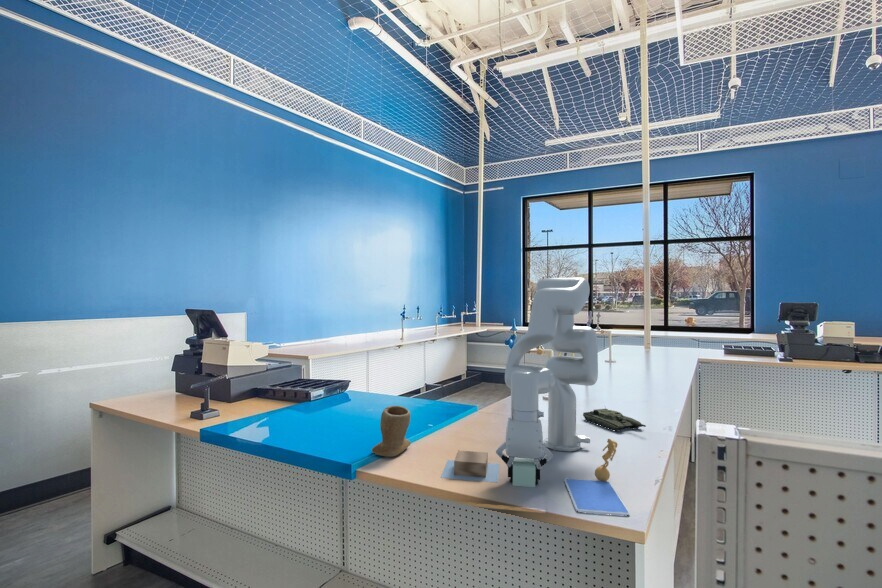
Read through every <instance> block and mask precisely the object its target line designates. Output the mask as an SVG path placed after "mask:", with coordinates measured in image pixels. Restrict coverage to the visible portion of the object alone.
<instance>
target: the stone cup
mask: <svg viewBox="0 0 882 588" xmlns="http://www.w3.org/2000/svg"><path fill="white" fill-rule="evenodd" d="M380 416H381V417H380V427H379V428H380V432H381V440H382V441H380V442H378V443H377V444H375V446H373V447H372V448H371V452H372V453H373V454H374V453H375V455H377V456H381V457H389V458H390V457H396V456H398V455H400V454H401V453H403V452H404V451H405V450H406V449H408V447H409V446H411V444H412V442H411V441H410V439H407V437H406V435H407V432H408V429H409V427H410V423H411V411H410V410H409V409H408V408H406V406H405V407H404V406H401V405H389V406H387V407H385V408H384V409H383V410H382V412H381V415H380Z"/></svg>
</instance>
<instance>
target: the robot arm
mask: <svg viewBox="0 0 882 588" xmlns="http://www.w3.org/2000/svg"><path fill="white" fill-rule="evenodd" d="M590 290H591V289H590V283H589V281H588V280H587V279H586V278H584V277H546V278H542V279H540V280H538V281H537V283H536V292H535V293H534V295H533V299H532V304H531V310H530V316H529V322H528V326H527V332H526V333H525V334H523V335H522V336H521V337H520V338H519V339H518V340H516V342H515V343H514V345H513V346H512V347H511V349H510V351H509V353H508V356H507V360H506V365H505V371H504V382H505V385H506V387H507V388H509V389H510V417H508V418H507V422H506V430H505V441H504V442H502V444H501V445H499V446H498V447H497V448H496V450H495V454H496V455H497V456H498V457H499V458H500V459H501V460H502V461H503V462H504V464H506V466H507V478H510V483H513V460H514V458H518V459H531V460H534V461H535V467H536V476H535V485H538V482H539V481H540V480H541V469H542V467H543V466H544V465H546V464H547V463H548V462H549V461H550V460H552V458H553V457H554V455H553V453H552V452H551V451H550V450H554V451H559V452H575V451H578V450H580V449H581V443H582V444H583V443H584V444H591V438H590V437H587V436H585V435H579V434H577V395H576V393H575V390H574V389H573V388H572V386H571V385H575V386H576V385H577V386H585V387H586V386H593V385H594V386H595V384H596V383H597V381H598V378H599V363H598V362H599V358H598V355H599V354H598V349H599V348H598V338H597V333H596V331H595V329H593V328H592V327H591V326H585V325H584V326H581V325H575V315H578V314H579V313H580V312H581V311H582V310H583V308H584V305H585V304H586V303H587V302H588V299H589V296H590V293H591V292H590ZM548 343H549V345H550V349H552V351H554V352H557V353H561V354H562V353H563V354H577V355H579V354H580V355H581V356H572V355H570V356H569V355H554V356H553V355H552V356H551V357H549V358H548V359H547V360H546V363H545V367H543V366H542V367H541V366H534V365H523V364H522V365H521V364H520V362H521V360H522V358H523V357H524V356H525V354H527V353H528V352H529V351H531V350H533V349H535V348H538V347H540V346H543V345H545V344H548ZM544 394H548V395H547V396H548V397H547V400H548V401H547V402H548V404H547V405H548V407H547V438H545V439H544V437H543V425H542V421H541V419H540V418H544V417H545V413H544V411H540V410H539V395H544ZM504 451H505V453H504ZM544 454H545V455H544ZM543 455H544V456H543Z"/></svg>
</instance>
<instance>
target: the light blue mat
mask: <svg viewBox="0 0 882 588" xmlns="http://www.w3.org/2000/svg"><path fill="white" fill-rule="evenodd" d="M454 460H455V459H453V460H452V459H447V461H446V464H445V466H444V468H443V471H442V473H441V476H440V478H441V479H452V480H464V481H474V482H475V481H476V482H487V483H488V482H489V483H496V484H497V483H499V475H500V463H494V462H493V463H492V462H488V467H487V473H486V478H483V477H471V476H458V475H454Z"/></svg>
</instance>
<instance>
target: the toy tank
mask: <svg viewBox="0 0 882 588" xmlns="http://www.w3.org/2000/svg"><path fill="white" fill-rule="evenodd" d="M582 416H583V418H584V419H585V421H586V420H587V421H586V422H588V421H590V422H592V423H591V424H593V423H595V424H594V425H596V424H598V425H597V426H599V425H601V426H603V427H602V428H604V427H606V428H605V429H607V428H609V429H612V430H615V431H614V432H618V431H617V430H620V431H621V430H625V429H631V428H637V429H638V428H642V427H644V428H645V427H647V425H645V424H643V423H641V422H640V421H639V420H636V419H635V418H633V417H629V416H626V415H623V413H622V412H620V411H617V410H612V409H608V408H606V406H604V408H598V409H593V410H590V411H588V412H587V411H586V412H583V413H582ZM590 422H589V423H590ZM601 426H600V427H601ZM609 429H608V430H609ZM612 430H611V431H612Z"/></svg>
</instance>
